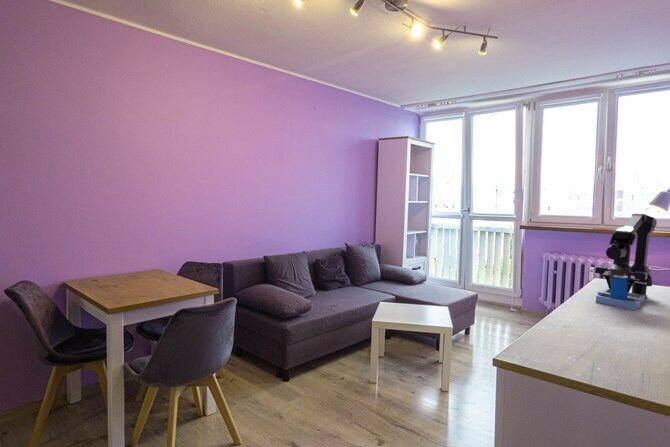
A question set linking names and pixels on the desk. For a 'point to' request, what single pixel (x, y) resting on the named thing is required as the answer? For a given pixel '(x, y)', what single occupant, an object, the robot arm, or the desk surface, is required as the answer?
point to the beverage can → (619, 287)
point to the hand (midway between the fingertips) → (618, 291)
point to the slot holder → (631, 302)
